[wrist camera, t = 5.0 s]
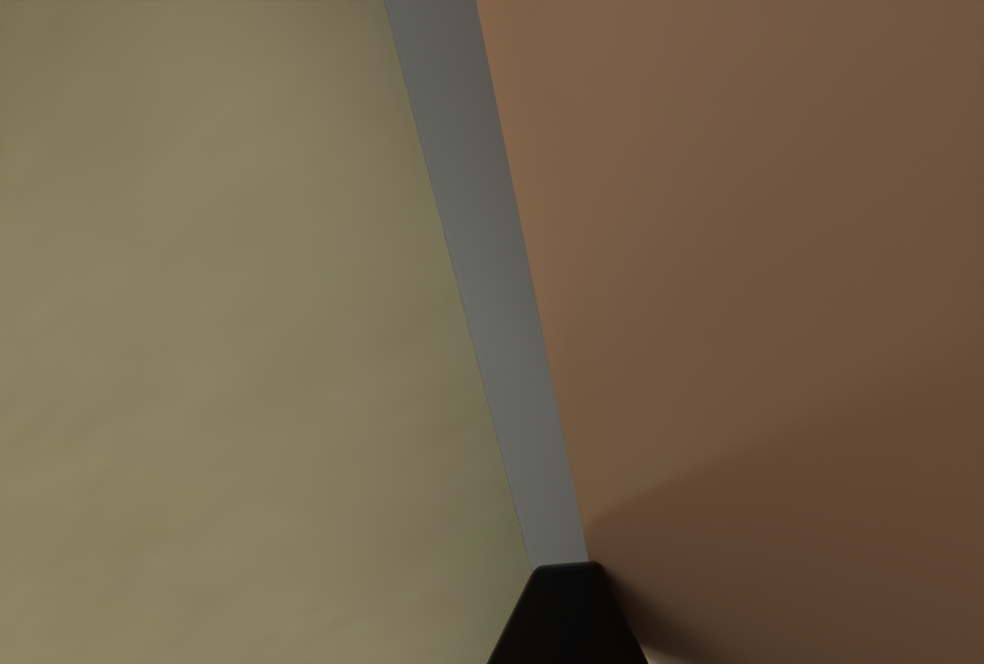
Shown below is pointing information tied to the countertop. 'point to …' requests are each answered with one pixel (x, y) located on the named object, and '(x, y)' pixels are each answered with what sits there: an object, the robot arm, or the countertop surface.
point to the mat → (490, 261)
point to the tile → (762, 312)
